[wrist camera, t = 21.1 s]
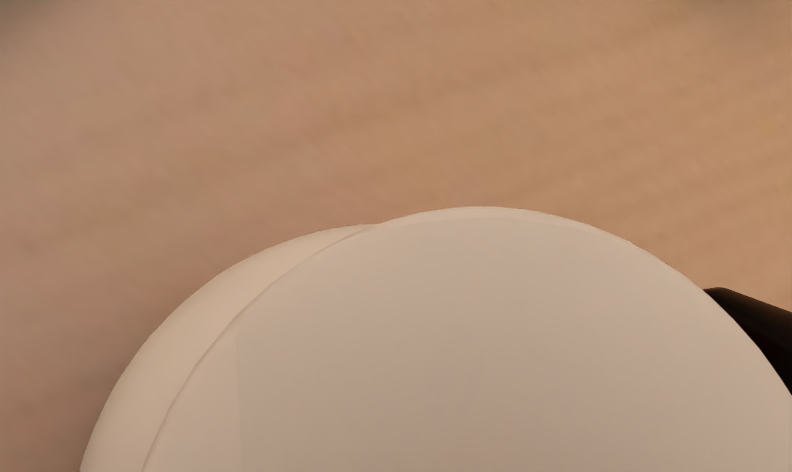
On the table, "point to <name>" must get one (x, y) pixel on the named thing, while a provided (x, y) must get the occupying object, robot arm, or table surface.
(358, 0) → the table surface
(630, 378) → the pill bottle
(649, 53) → the table surface
